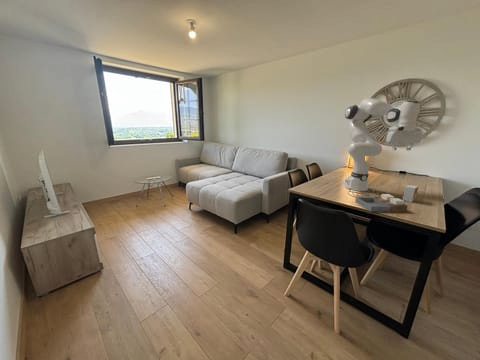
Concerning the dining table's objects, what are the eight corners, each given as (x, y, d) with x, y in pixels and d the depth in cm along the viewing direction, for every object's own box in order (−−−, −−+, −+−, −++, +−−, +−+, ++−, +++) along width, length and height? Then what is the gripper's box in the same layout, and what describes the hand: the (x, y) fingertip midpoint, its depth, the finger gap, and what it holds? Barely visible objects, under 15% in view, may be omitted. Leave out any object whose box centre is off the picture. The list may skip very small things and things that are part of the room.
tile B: (389, 201, 128) (390, 198, 128) (397, 201, 129) (397, 198, 128) (395, 204, 124) (396, 201, 123) (403, 204, 124) (404, 201, 123)
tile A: (380, 197, 136) (381, 194, 135) (387, 197, 136) (388, 194, 136) (386, 200, 131) (387, 196, 131) (393, 200, 131) (394, 196, 131)
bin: (355, 201, 138) (356, 197, 137) (372, 202, 138) (373, 197, 138) (370, 211, 123) (371, 206, 122) (389, 211, 123) (391, 206, 122)
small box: (411, 202, 139) (415, 188, 136) (401, 200, 143) (405, 186, 140) (415, 200, 143) (418, 186, 141) (405, 197, 148) (408, 184, 145)
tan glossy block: (373, 202, 139) (374, 196, 137) (387, 202, 139) (388, 196, 138) (390, 211, 123) (392, 205, 122) (406, 211, 123) (407, 205, 122)
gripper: (417, 128, 127) (412, 149, 130) (386, 127, 126) (382, 149, 130) (426, 128, 121) (421, 151, 124) (394, 128, 120) (389, 150, 124)
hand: (401, 150), depth 127 cm, fingers open, 8 cm apart
